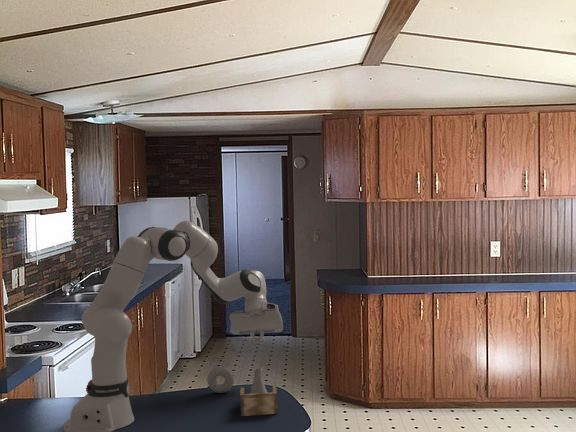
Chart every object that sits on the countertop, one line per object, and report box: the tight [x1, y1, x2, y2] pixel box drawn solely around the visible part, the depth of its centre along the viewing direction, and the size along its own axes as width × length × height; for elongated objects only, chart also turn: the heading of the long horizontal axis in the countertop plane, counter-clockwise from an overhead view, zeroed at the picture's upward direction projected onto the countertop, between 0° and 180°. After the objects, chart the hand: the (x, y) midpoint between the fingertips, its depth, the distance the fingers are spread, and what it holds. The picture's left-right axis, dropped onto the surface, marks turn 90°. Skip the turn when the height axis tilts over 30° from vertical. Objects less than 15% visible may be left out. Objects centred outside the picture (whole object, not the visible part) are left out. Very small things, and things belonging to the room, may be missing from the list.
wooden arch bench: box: [239, 384, 279, 417], centre depth 215 cm, size 12×11×7 cm
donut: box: [206, 365, 235, 394], centre depth 233 cm, size 10×4×10 cm, turn 85°
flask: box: [249, 368, 268, 394], centre depth 227 cm, size 7×7×10 cm
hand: (257, 342), depth 237 cm, fingers closed
